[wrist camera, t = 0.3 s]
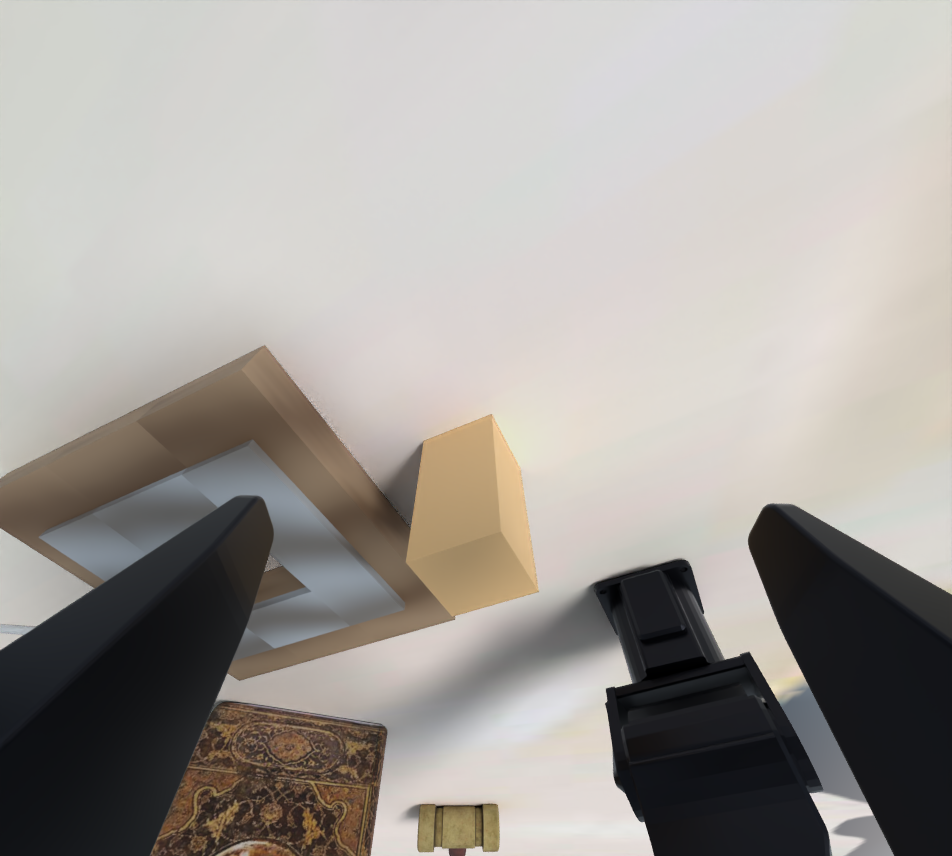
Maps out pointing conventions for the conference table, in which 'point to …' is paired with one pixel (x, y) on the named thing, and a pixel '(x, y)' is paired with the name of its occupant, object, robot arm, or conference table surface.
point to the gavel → (458, 828)
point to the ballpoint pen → (15, 629)
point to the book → (277, 786)
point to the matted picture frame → (217, 481)
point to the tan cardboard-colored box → (471, 520)
